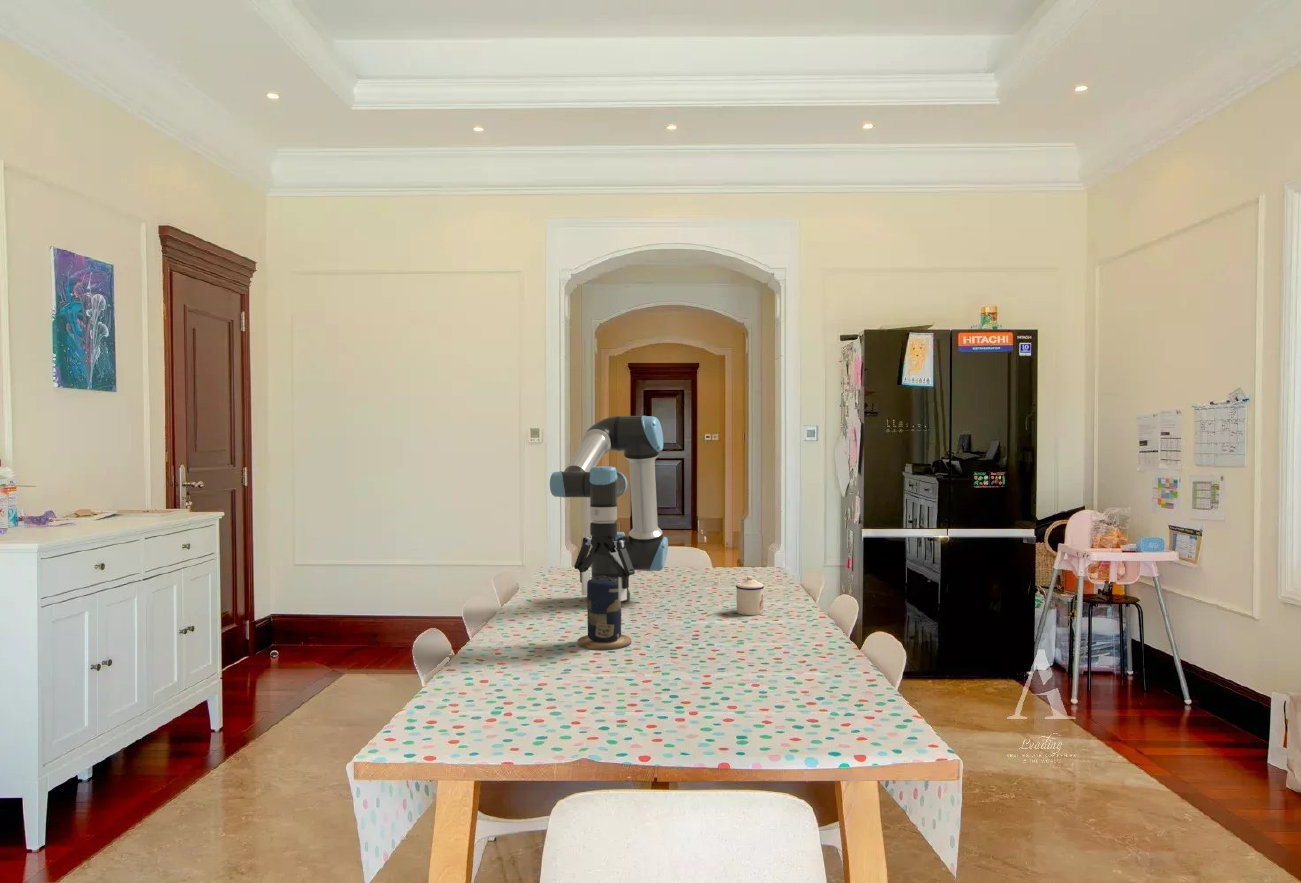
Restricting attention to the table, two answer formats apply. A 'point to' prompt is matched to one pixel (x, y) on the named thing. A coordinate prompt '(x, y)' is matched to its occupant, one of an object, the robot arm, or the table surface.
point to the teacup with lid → (749, 597)
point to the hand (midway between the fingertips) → (604, 597)
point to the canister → (603, 609)
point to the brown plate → (604, 643)
